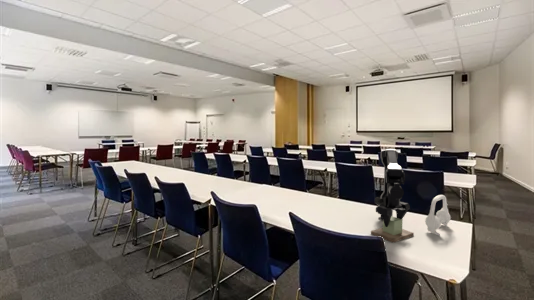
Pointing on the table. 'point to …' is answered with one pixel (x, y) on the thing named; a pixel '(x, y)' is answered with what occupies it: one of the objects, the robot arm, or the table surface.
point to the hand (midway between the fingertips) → (392, 225)
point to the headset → (437, 215)
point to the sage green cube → (393, 226)
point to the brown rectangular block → (391, 237)
